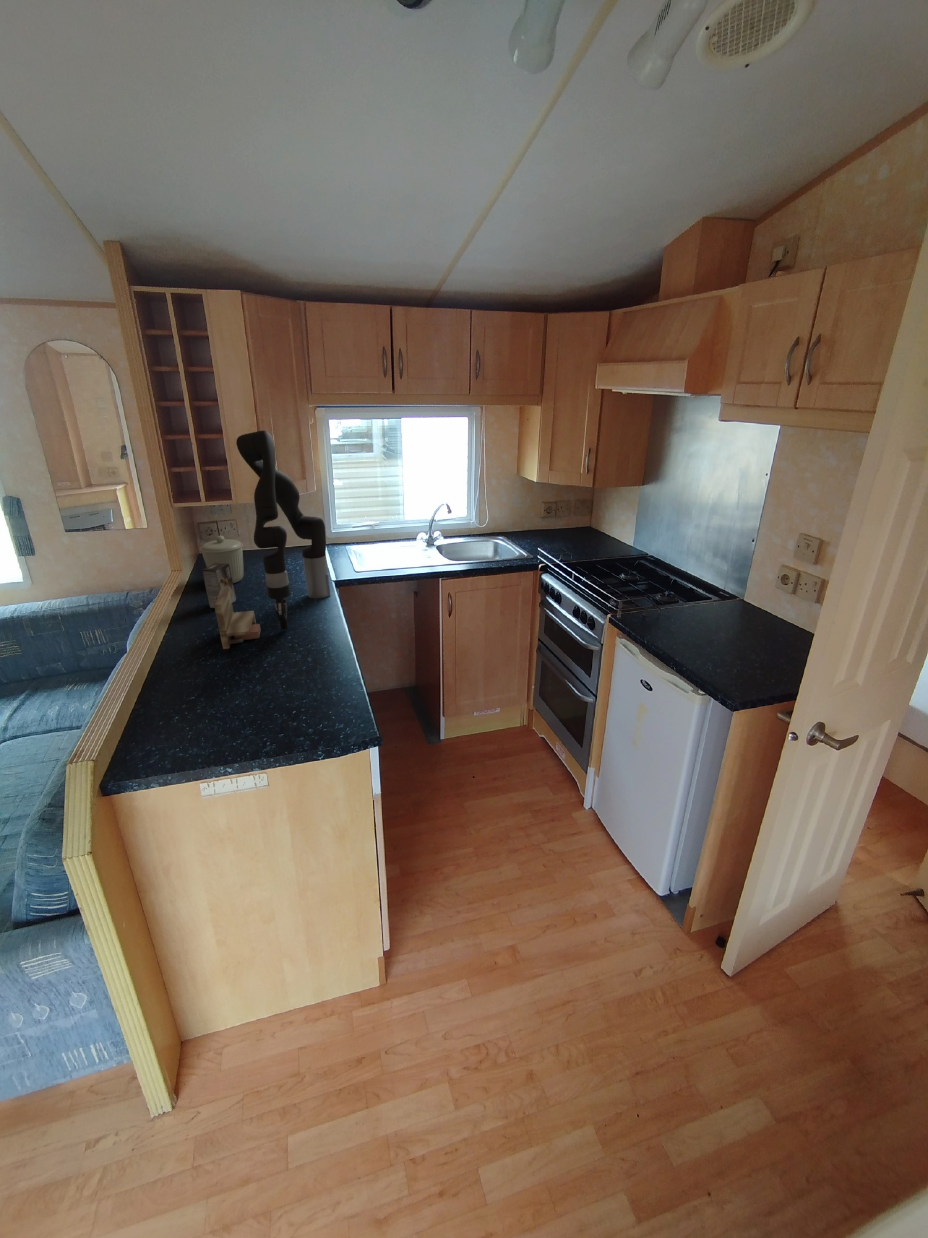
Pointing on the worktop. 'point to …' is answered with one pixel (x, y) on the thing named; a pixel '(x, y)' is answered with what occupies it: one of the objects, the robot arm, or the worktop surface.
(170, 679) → the worktop surface
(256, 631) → the tan cardboard carton
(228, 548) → the canister
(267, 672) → the worktop surface
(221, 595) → the nook
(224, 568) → the coffee box
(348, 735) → the worktop surface
